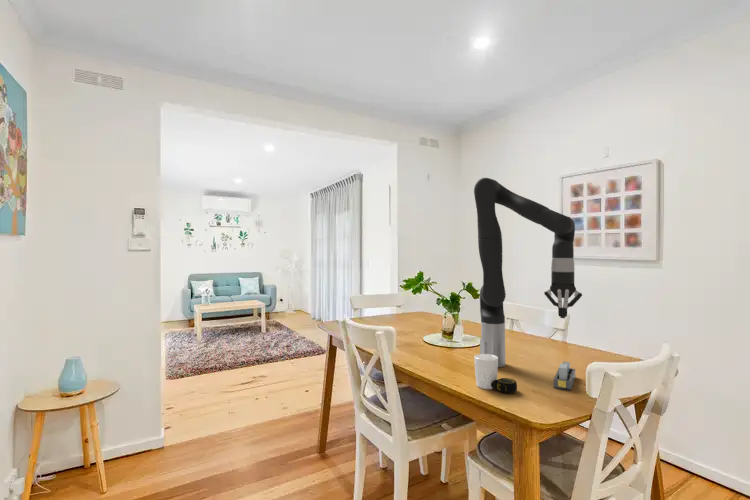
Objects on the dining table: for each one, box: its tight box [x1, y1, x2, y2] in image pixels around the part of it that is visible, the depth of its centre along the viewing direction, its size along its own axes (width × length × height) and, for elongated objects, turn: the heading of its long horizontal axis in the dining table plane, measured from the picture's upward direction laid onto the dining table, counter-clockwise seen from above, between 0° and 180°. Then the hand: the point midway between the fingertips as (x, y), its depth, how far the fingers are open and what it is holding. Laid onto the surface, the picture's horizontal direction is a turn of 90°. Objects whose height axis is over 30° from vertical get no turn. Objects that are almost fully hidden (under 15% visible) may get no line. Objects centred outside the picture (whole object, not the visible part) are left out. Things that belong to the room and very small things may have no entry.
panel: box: [558, 363, 568, 381], centre depth 131 cm, size 5×2×6 cm, turn 149°
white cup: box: [473, 353, 499, 390], centre depth 131 cm, size 8×8×10 cm
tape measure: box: [491, 377, 518, 394], centre depth 126 cm, size 7×7×4 cm
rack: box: [553, 361, 576, 392], centre depth 133 cm, size 16×5×6 cm, turn 148°
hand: (562, 317), depth 139 cm, fingers closed
